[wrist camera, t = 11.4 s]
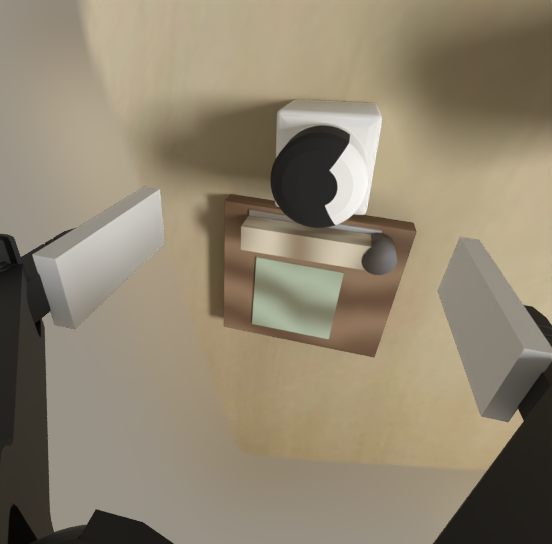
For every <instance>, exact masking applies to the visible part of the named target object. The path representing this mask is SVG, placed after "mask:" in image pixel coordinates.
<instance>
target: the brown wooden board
mask: <svg viewBox="0 0 552 544" xmlns="http://www.w3.org/2000/svg"><path fill="white" fill-rule="evenodd" d="M248 216H253V217H259V218H266V219H273V220H279V221H286V222H292V223H297V222H295V221H293V220H291V219H290V218H289V217H288V216H286V215H285V214H284V213H283V212H282V210H281V209H280V208H279V207H277V206H276V204H275V201H272V200H265V199H259V198H253V197H246V196H240V195H234V194H231V195H230V196H229V197H228V198H227V199H226V201H225V253H224V327H228V328H233V329H238V330H243V331H248V332H253V333H258V334H262V335H267V336H272V337H277V338H282V339H287V340H292V341H297V342H301V343H306V344H311V345H316V346H321V347H326V348H331V349H336V350H340V351H345V352H350V353H355V354H360V355H365V356H370V357H375V354H376V351H377V348H378V345H379V342H380V339H381V336H382V333H383V330H384V327H385V324H386V321H387V318H388V315H389V312H390V309H391V306H392V303H393V300H394V297H395V294H396V292H397V289H398V286H399V283H400V280H401V277H402V274H403V271H404V268H405V265H406V262H407V259H408V256H409V253H410V250H411V247H412V244H413V241H414V238H415V235H416V229H415V226H414V223H410V222H404V221H398V220H392V219H385V218H379V217H373V216H366V215H355V214H353V215H352V216H351V217H350V218H348V219H347V220H345V221H344V222H342V223H340V224H337V225H335V226H331V227H326V228H331V229H338V230H344V231H351V232H357V233H364V234H370V235H371V234H374V233H383V234H386V235H388V236H389V237H391V238H392V240H393V242H394V245H395V250H396V255H397V264H396V266H395V268H394V269H393V270H392V271H391V272H389V273H387V274H384V275H373V274H370V273H368V272H367V271H366V270H359V269H353V268H347V267H341V266H335V265H329V264H323V263H317V262H311V261H305V260H299V259H293V258H287V257H281V256H275V255H269V254H263V253H257V252H251V251H245V250H241V226H242V225H243V223H244V222H245V220H246V219H247V217H248Z"/></svg>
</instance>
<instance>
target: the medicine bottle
mask: <svg viewBox="0 0 552 544" xmlns="http://www.w3.org/2000/svg"><path fill="white" fill-rule="evenodd" d="M381 124H382V117H381V114H380V111H379V108H378V106H377V104H376V103H366V102H345V101H324V100H303V99H295V100H293V101H291V102H290V103H289V104H287V105H286V106H284V107H283V108H281V109H280V110H279V111H278V113H277V134H276V160H275V162H274V164H273V168H272V171H271V189H272V193H273V196H274V199H275V204H276V206H277V207H279V208H280V209H281V210H282V212H283V213H284V214H285V215H286V216H288V217H289V218H290V219H291V220H293V221H295V222H297V223H298V224H301V225H304V226H307V227H312V228H326V227H331V226H335V225H337V224H340V223H342V222H344V221H345V220H347V219H348V218H350V217H351V216H352V215H353V214H355V215H364V214H365V213H366V211H367V207H368V201H369V195H370V189H371V183H372V177H373V171H374V165H375V159H376V153H377V147H378V141H379V135H380V130H381Z"/></svg>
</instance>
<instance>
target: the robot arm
mask: <svg viewBox="0 0 552 544" xmlns="http://www.w3.org/2000/svg"><path fill="white" fill-rule="evenodd" d="M164 243H165V241H164V230H163V218H162V207H161V196H160V189H157V188H151V187H142V188H141V189H139V190H138V191H136V192H134V193H133V194H131V195H129V196H128V197H126V198H125V199H123V200H121V201H119V202H118V203H116V204H115V205H113V206H111V207H110V208H108V209H106V210H105V211H103V212H102V213H100V214H98V215H97V216H95V217H93V218H92V219H90V220H88V221H87V222H85V223H83V224H82V225H80V226H79V227H77V228H74V229H71V230H68V231H64V232H62V233H61V234H59V235H57V236H56V237H54V238H53V239H51V240H49V241H48V242H46V243H45V245H44V244H42V245H41V246H39V247H38V248H36V249H34V250H32V251H31V252H29V253H27V254H26V255H24V256H22V257H20V254H19V251H18V248H17V245H16V242H15V239H14V237H12V236H10V235H6V234H0V544H173V543H172V542H171V541H169V540H168V539H166V538H165V537H163V536H162V535H160V534H159V533H157V532H156V531H155V530H153V529H152V528H150V527H149V526H148V525H146V524H145V523H143V522H140V521H136V520H133V519H129V518H126V517H122V516H118V515H115V514H111V513H107V512H104V511H100V510H95V512H94V514H93V515H92V517H91V519H90V520H89V522H88V524H87V525H81V526H75V527H70V528H66V529H63V530H60V531H57V532H54V530H53V527H52V522H51V517H50V503H49V469H48V435H47V434H48V433H47V398H46V363H45V332H44V331H45V328H44V324H43V321H42V317H44V316H45V315H46V314H47V313H49V311H50V312H51V315H52V318H53V321H54V324H55V325H57V326H62V327H66V328H71V329H76V328H77V327H78V326H79V325H80V324H81V323H82V322H83V321H84V320H85V319H86V318H87V317H89V316H90V314H92V313H93V312H94V311H95V310H96V309H97V308H98V307H99V306H100V305H101V304H102V303H103V302H104V301H105V300H106V299H107V298H108V297H109V296H110V295H111V294H112V293H113V292H114V291H115V290H116V289H117V288H118V287H119V286H120V285H122V284H123V283H124V282H125V281H126V280H127V279H128V278H129V277H130V276H131V275H132V274H133V273H134V272H135V271H136V270H137V269H138V268H139V267H140V266H141V265H142V264H143V263H144V262H145V261H146V260H147V259H148V258H149V257H150V256H151V255H152V254H154V253H155V252H156V251H157V250H158V249H159V248H160V247H161V246H162V245H163V244H164ZM438 294H439V297H440V300H441V302H442V305H443V308H444V311H445V314H446V317H447V320H448V323H449V326H450V328H451V331H452V334H453V337H454V340H455V343H456V346H457V349H458V351H459V354H460V357H461V360H462V363H463V366H464V369H465V372H466V375H467V377H468V380H469V383H470V386H471V389H472V392H473V395H474V398H475V400H476V403H477V406H478V409H479V412H480V415H481V416H482V417H486V418H491V419H496V420H500V421H505V422H509V421H510V419H511V418H512V416H513V415H514V414H515V412H516V411H517V409H519V412H520V414H521V416H522V418H523V420H524V422H523V423H522V424H521V426H520V427H519V428H518V430H517V431H516V432H515V434H514V435H513V436H512V438H511V439H510V440H509V442H508V443H507V444H506V446H505V447H504V448H503V450H502V451H501V453H500V454H499V455H498V457H497V458H496V459H495V461H494V462H493V463H492V465H491V466H490V467H489V469H488V470H487V471H486V473H485V474H484V475H483V477H482V478H481V480H480V481H479V482H478V484H477V485H476V486H475V488H474V489H473V490H472V492H471V493H470V494H469V496H468V497H467V498H466V500H465V501H464V502H463V504H462V505H461V507H460V508H459V509H458V511H457V512H456V513H455V515H454V516H453V517H452V519H451V520H450V521H449V523H448V524H447V526H446V527H445V528H444V529H443V531H442V532H441V534H440V535H439V536H438V538H437V539H436V540H435V542H434V543H433V544H552V325H551V324H550V322H549V321H548V319H547V318H546V317H545V316H544V315H542V314H541V313H540V312H539V311H537V310H536V309H535V308H534V307H531V306H526V305H523V304H522V302H521V301H520V299H519V298H518V296H517V295H516V293H515V292H514V290H513V289H512V287H511V286H510V285H509V283H508V282H507V280H506V279H505V277H504V276H503V274H502V273H501V271H500V270H499V268H498V267H497V265H496V264H495V262H494V261H493V259H492V258H491V256H490V255H489V253H488V252H487V250H486V249H485V247H484V246H483V244H482V243H481V241H480V240H477V239H471V238H465V237H460V238H459V240H458V243H457V245H456V248H455V250H454V252H453V255H452V257H451V260H450V262H449V265H448V267H447V270H446V272H445V274H444V277H443V279H442V282H441V284H440V287H439V289H438Z"/></svg>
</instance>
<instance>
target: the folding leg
mask: <svg viewBox="0 0 552 544" xmlns="http://www.w3.org/2000/svg"><path fill="white" fill-rule="evenodd" d="M241 250H245V251H251V252H257V253H263V254H269V255H275V256H281V257H287V258H293V259H299V260H305V261H311V262H317V263H323V264H329V265H335V266H341V267H347V268H353V269H359V270H366V271H367V272H368V273H370V274H373V275H384V274H387V273H389V272H391V271H392V270H393V269H394V268H395V266H396V264H397V255H396V250H395V245H394V242H393V240H392V238H391V237H389V236H388V235H386V234H383V233H374V234H371V235H370V234H364V233H357V232H351V231H344V230H338V229H331V228H312V227H307V226H304V225H301V224H298V223H292V222H286V221H279V220H273V219H266V218H259V217H253V216H248V217H247V219H246V220H245V222H244V223H243V225H242V226H241Z"/></svg>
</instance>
